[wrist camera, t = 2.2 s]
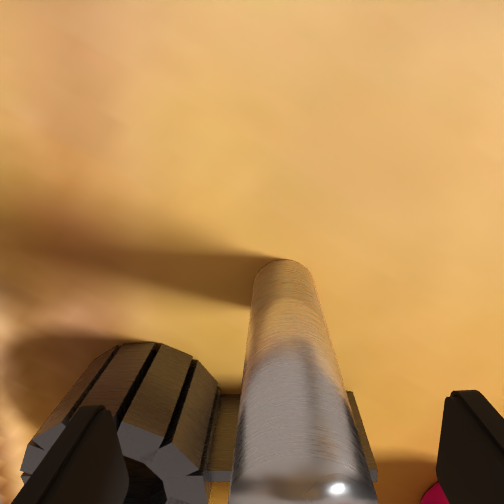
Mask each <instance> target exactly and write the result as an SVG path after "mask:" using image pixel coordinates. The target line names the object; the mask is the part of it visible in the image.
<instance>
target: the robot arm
mask: <svg viewBox="0 0 504 504" xmlns="http://www.w3.org/2000/svg"><path fill="white" fill-rule="evenodd" d="M436 474H437V478H438V481H439V484H440V486H441V488H442V490H443V492H444V494H445V496H446V498H447V500H448V501H449V503H450V504H504V418H503V417H502V416H501V415H500V414H499V413H498V412H497V411H496V409H495V408H494V407H493V406H492V405H491V404H490V403H489V402H488V400H487V399H486V398H485V397H484V396H483V395H482V394H481V393H480V392H479V391H477V390H462V391H453V392H452V393H451V395H450V397H446V399H445V404H444V411H443V419H442V427H441V435H440V443H439V450H438V458H437V466H436ZM128 487H129V475H128V472H127V468H126V464H125V461H124V457H123V453H122V450H121V446H120V442H119V439H118V435H117V431H116V428H115V424H114V420H113V417H112V413H111V411H110V410H106V407H105V406H104V405H85V406H82V407H80V408H79V409H78V410H77V412H76V413H75V415H74V416H73V417H72V419H71V420H70V422H69V423H68V425H67V426H66V427H65V429H64V430H63V432H62V433H61V434H60V436H59V437H58V439H57V440H56V441H55V443H54V444H53V446H52V447H51V448H50V450H49V451H48V453H47V454H46V455H45V457H44V458H43V460H42V461H41V463H40V464H39V465H38V467H37V468H36V469H35V471H34V472H33V474H32V475H31V476H30V478H29V479H28V481H27V482H26V483H25V485H24V486H23V488H22V489H21V490H20V492H19V493H18V495H17V496H16V497H15V499H14V500H13V502H12V503H11V504H123V502H124V499H125V497H126V494H127V491H128Z"/></svg>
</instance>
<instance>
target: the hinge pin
mask: <svg viewBox="0 0 504 504" xmlns="http://www.w3.org/2000/svg"><path fill="white" fill-rule="evenodd" d="M228 504H378V500H377V496H376V493H375V489H374V486H373V482H372V479H371V475H370V472H369V469H368V465H367V462H366V458H365V455H364V452H363V448H362V445H361V441H360V438H359V434H358V431H357V428H356V424H355V421H354V417H353V414H352V410H351V407H350V404H349V400H348V397H347V393H346V390H345V387H344V383H343V380H342V376H341V373H340V369H339V366H338V363H337V359H336V356H335V352H334V349H333V345H332V342H331V339H330V335H329V332H328V328H327V325H326V321H325V318H324V315H323V311H322V308H321V304H320V301H319V298H318V294H317V291H316V287H315V284H314V280H313V278H312V275H311V274H310V272H309V271H308V270H307V269H306V268H305V267H304V266H303V265H301V264H300V263H298V262H295V261H292V260H276V261H273V262H270V263H268V264H267V265H265V266H264V267H263V268H262V269H261V270H260V271H259V272H258V273H257V275H256V277H255V280H254V285H253V294H252V302H251V311H250V320H249V328H248V337H247V345H246V354H245V362H244V371H243V380H242V388H241V397H240V405H239V414H238V422H237V431H236V440H235V448H234V457H233V465H232V474H231V483H230V491H229V500H228Z"/></svg>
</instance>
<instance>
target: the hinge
mask: <svg viewBox="0 0 504 504" xmlns="http://www.w3.org/2000/svg"><path fill="white" fill-rule="evenodd" d="M192 357H193V356H190V355H188V354H185V353H183V352H181V351H178V350H176V349H173V348H171V347H169V346H166V345H164V344H162V345H161V347H160V349H159V351H158V353H157V348H156V344H155V343H130V344H123V345H122V346H121V348H119V347H118V346H116V347H114V348H112V349H111V350H109V351H108V352H106V353H104V354H103V355H101V356H100V357H98V358H96V359H95V360H94V361H93V362H92V363H91V364H90V366H89V367H88V368H87V370H86V371H85V372H84V373H83V375H82V376H81V377H80V378H79V380H78V381H77V382H76V384H75V385H74V386H73V387H72V389H71V390H70V391H69V392H68V394H67V395H66V396H65V398H64V399H63V400H62V401H61V403H60V404H59V405H58V406H57V408H56V409H55V410H54V412H53V413H52V414H51V415H50V417H49V418H48V419H47V420H46V422H45V423H44V424H43V426H42V427H41V428H40V429H39V431H38V432H37V433H36V434H35V436H34V437H33V438H32V440H31V441H30V442H29V443H28V445H27V449H26V452H25V455H24V459H23V462H22V465H21V469H20V471H23V472H24V473H23V474H22V475H21V478H22V480H23V482H24V485H25V483H26V482H27V481H28V479H29V478H30V476H31V475H32V474H33V472H34V471H35V469H36V468H37V467H38V465H39V464H40V463H41V461H42V460H43V458H44V457H45V455H46V454H47V453H48V451H49V450H50V448H51V447H52V446H53V444H54V443H55V441H56V440H57V439H58V437H59V436H60V434H61V433H62V432H63V430H64V429H65V427H66V426H67V425H68V423H69V422H70V420H71V419H72V417H73V416H74V415H75V413H76V412H77V410H78V409H79V408H80V407H82V406H85V405H104V406H105V407H106V410H110V411H111V413H112V417H113V420H114V424H115V428H116V431H117V435H118V439H119V442H120V446H121V450H122V453H123V457H124V461H125V464H126V468H127V472H128V475H129V487H128V491H127V494H126V497H125V499H124V502H123V504H208V503H209V497H210V491H211V485H212V482H231V474H232V465H233V457H234V448H235V440H236V431H237V422H238V414H239V405H240V397H241V395H221V389H220V388H217V384H218V382H217V381H216V380H215V379H214V378H213V377H212V376H211V374H210V373H209V372H208V371H207V370H206V369H205V368H204V366H203V365H202V364H201V363H200V362H199V361H196V362H195V363H193V364H191V365H190V363H191V360H192ZM346 393H347V397H348V400H349V404H350V407H351V410H352V414H353V417H354V421H355V424H356V428H357V431H358V434H359V438H360V441H361V445H362V448H363V452H364V455H365V458H366V462H367V465H368V469H369V472H370V475H371V479H372V482H377V471H378V470H377V467H376V464H375V461H374V457H373V454H372V451H371V448H370V445H369V442H368V439H367V435H366V432H365V429H364V426H363V423H362V420H361V417H360V413H359V410H358V407H357V404H356V401H355V398H354V395H353V392H346Z"/></svg>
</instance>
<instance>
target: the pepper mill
mask: <svg viewBox="0 0 504 504" xmlns="http://www.w3.org/2000/svg"><path fill="white" fill-rule="evenodd" d="M421 504H450V503H449V501H448V500H447V498H446V496H445V494H444V492H443V490H442V488H441V486H440V484H439V482H438V483H437V484H435V485H434V486H433V487H432V488H430V489H429V490H428V491H427V492H426V494H425V495H424V497H423V499H422V500H421Z"/></svg>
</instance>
